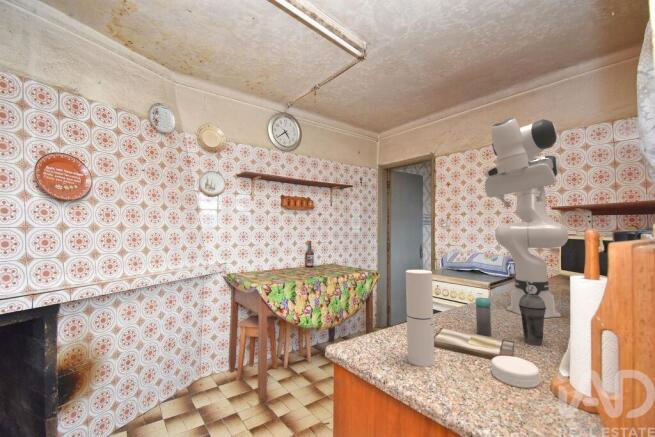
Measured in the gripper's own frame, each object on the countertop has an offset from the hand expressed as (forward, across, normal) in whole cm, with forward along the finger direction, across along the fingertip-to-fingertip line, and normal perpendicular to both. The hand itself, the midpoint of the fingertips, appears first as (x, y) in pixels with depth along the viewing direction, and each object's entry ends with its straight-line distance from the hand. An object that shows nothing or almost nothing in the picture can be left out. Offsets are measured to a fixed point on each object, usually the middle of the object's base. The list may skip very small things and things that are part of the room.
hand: (523, 204), depth 98 cm
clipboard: (+39, +17, +28) cm, 51 cm away
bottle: (+41, +18, +16) cm, 47 cm away
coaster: (+39, +3, +41) cm, 57 cm away
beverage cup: (+44, +4, +13) cm, 46 cm away
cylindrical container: (+34, +23, +49) cm, 64 cm away
